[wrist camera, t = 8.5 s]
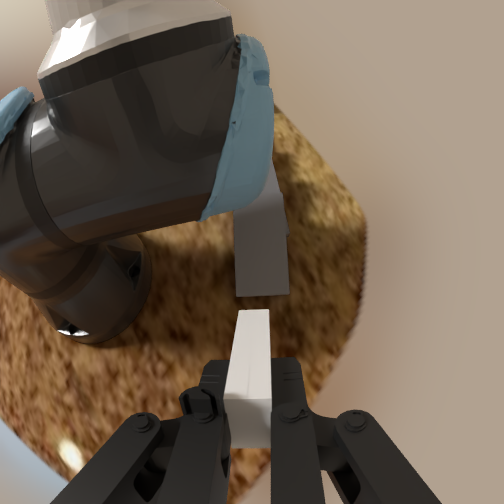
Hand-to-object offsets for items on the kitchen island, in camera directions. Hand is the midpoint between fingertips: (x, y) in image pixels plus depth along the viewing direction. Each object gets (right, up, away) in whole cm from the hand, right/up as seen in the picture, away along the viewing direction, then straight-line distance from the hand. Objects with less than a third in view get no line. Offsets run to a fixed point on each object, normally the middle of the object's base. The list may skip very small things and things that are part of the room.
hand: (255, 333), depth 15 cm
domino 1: (+1, 0, +13) cm, 13 cm away
